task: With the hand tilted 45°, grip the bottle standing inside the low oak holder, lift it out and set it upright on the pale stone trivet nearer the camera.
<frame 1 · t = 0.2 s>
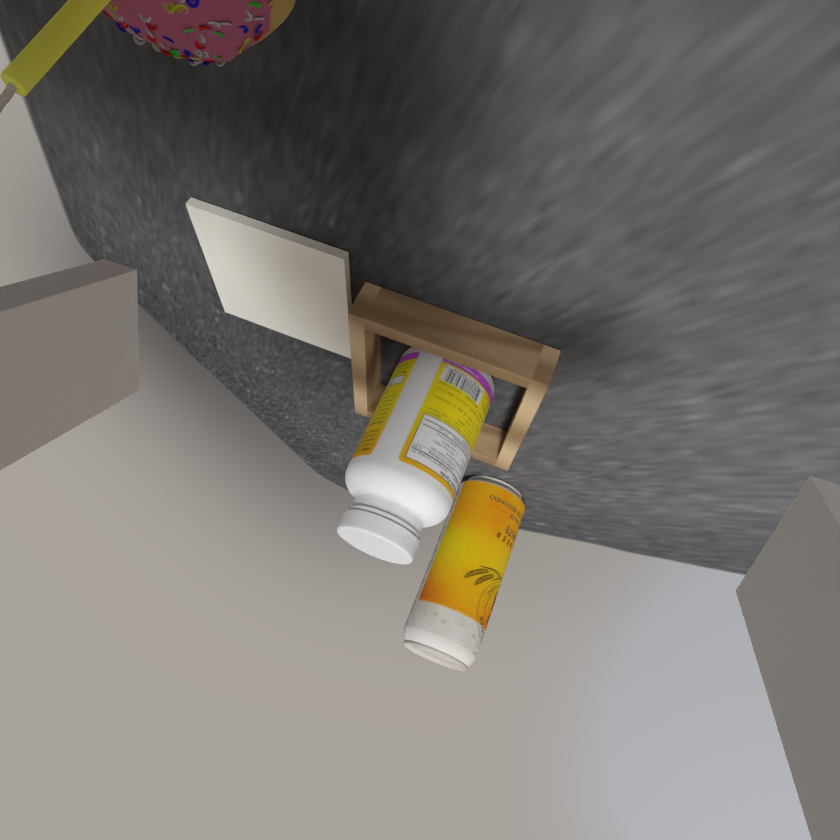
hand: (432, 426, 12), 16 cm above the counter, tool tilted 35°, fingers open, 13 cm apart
supplement bottle: (451, 368, 40), resting in oak holder
beer can: (495, 488, 53), on the counter
stone trivet: (281, 282, 38), on the counter
oak holder: (450, 371, 40), on the counter
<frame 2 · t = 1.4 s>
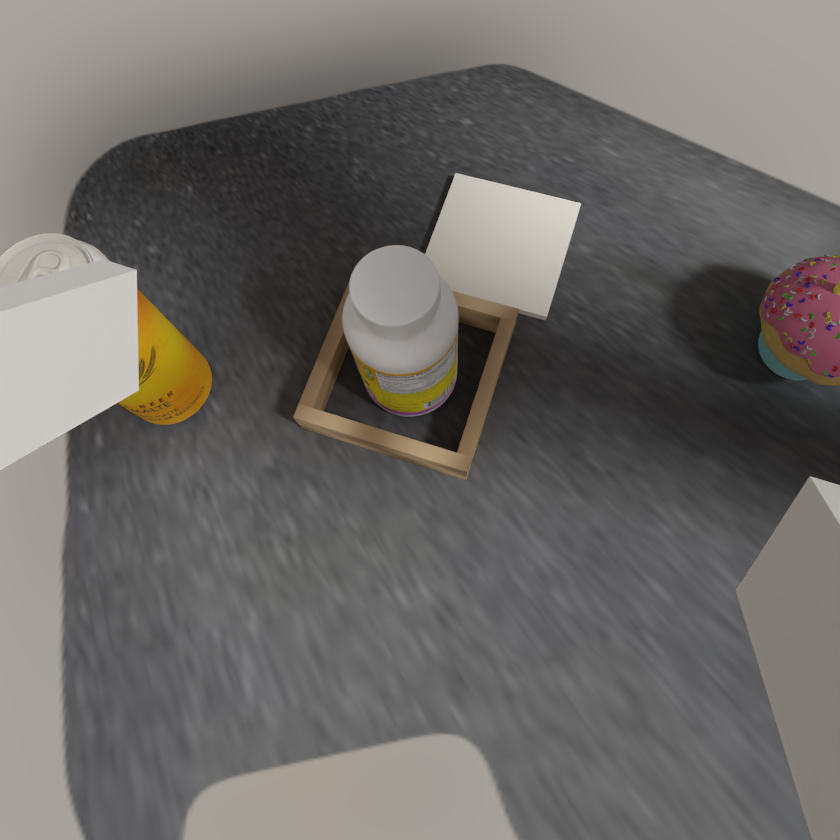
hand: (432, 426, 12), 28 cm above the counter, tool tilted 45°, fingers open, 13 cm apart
supplement bottle: (410, 376, 43), resting in oak holder
beer can: (176, 388, 43), on the counter
stone trivet: (498, 246, 45), on the counter
oak holder: (410, 375, 43), on the counter
cupcake: (792, 349, 42), on the counter
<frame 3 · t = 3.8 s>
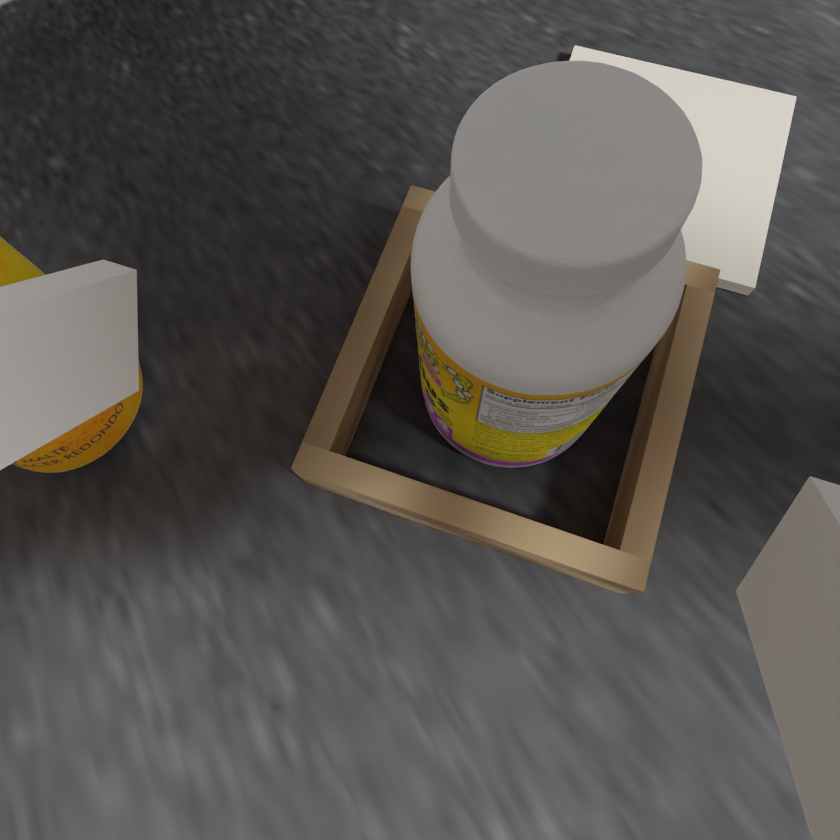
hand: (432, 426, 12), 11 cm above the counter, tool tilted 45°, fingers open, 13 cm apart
supplement bottle: (506, 391, 24), resting in oak holder
beer can: (80, 404, 24), on the counter
stone trivet: (653, 167, 26), on the counter
oak holder: (506, 389, 23), on the counter
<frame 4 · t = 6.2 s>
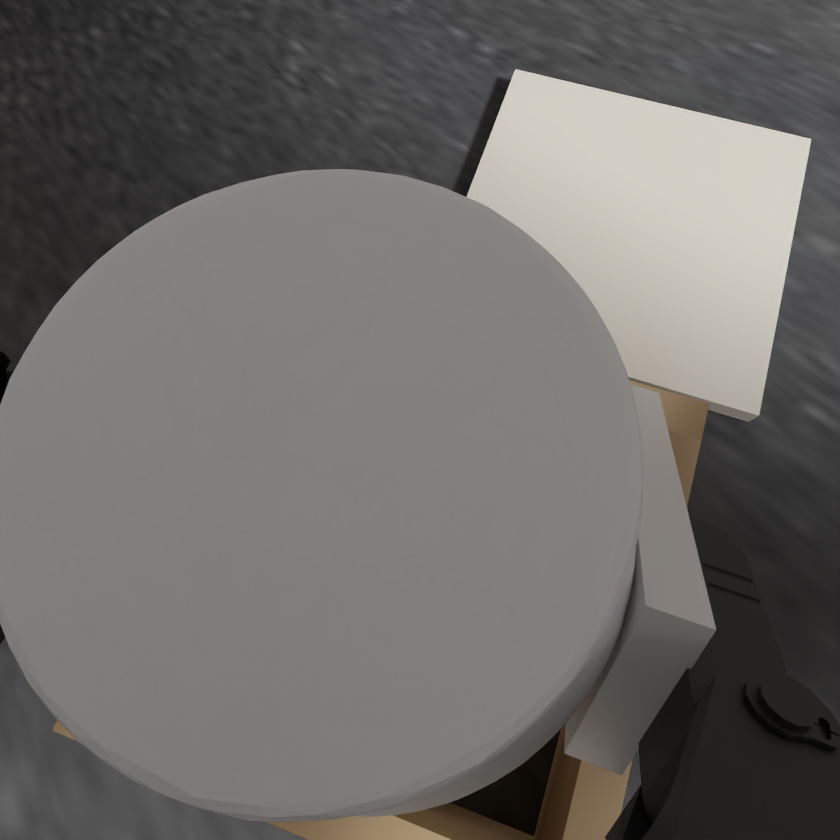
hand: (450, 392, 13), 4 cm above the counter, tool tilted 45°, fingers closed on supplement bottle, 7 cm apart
supplement bottle: (407, 565, 17), resting in oak holder, touching gripper
stone trivet: (618, 235, 19), on the counter
oak holder: (407, 564, 16), on the counter
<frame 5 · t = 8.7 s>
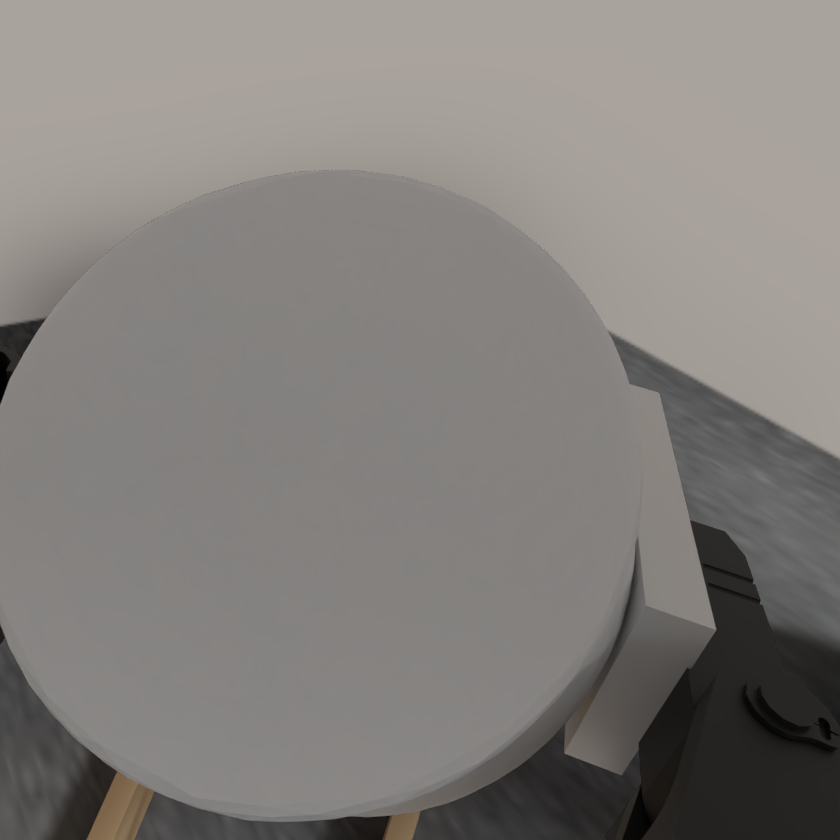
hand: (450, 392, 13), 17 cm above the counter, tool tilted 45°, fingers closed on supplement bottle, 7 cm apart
supplement bottle: (407, 565, 17), point 12 cm above the counter, touching gripper
oak holder: (264, 821, 26), on the counter
when the fingers open (7 cm above the counter, at t = 11.0 s): supplement bottle drops 2 cm, resting on stone trivet.
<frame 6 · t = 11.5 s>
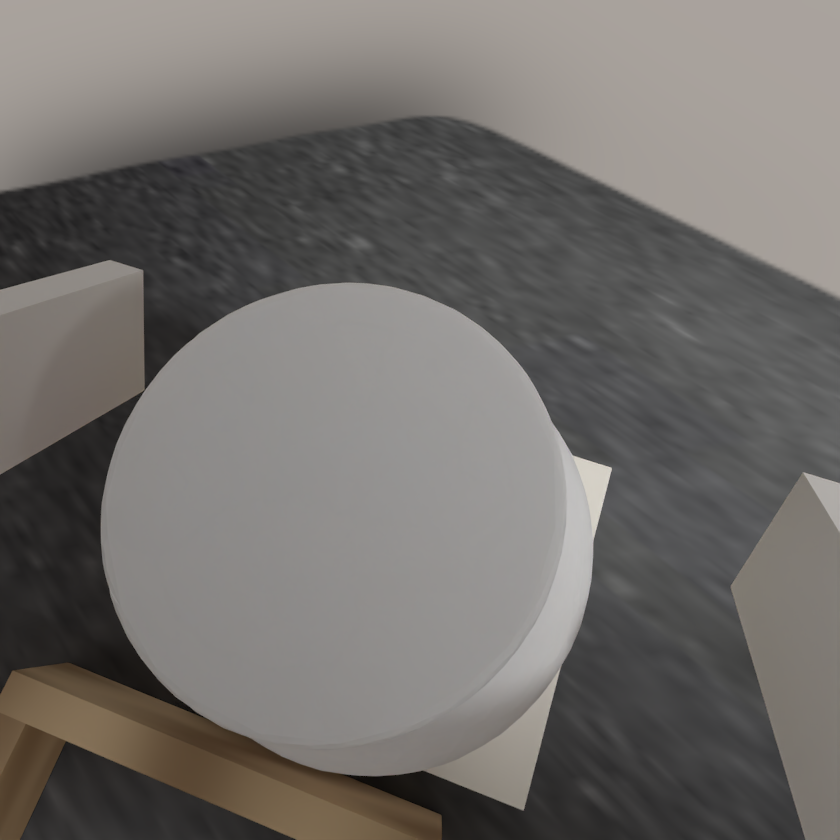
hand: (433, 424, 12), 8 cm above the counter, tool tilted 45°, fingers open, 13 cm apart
supplement bottle: (414, 575, 18), resting on stone trivet
stone trivet: (411, 570, 19), on the counter
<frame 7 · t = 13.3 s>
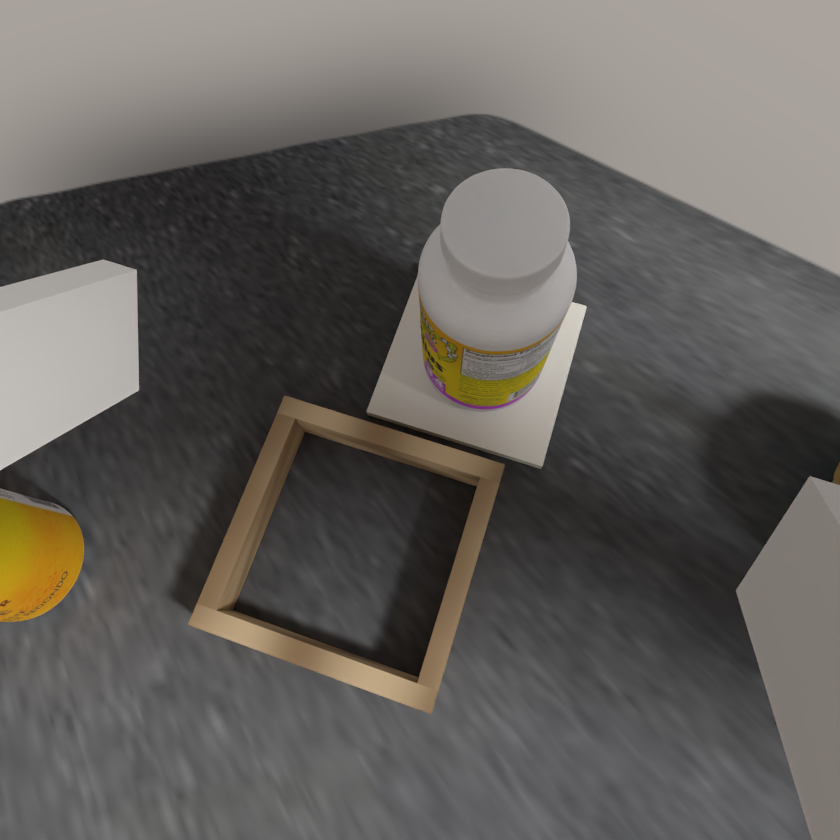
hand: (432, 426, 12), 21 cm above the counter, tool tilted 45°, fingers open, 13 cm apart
supplement bottle: (481, 362, 34), resting on stone trivet
beer can: (37, 560, 32), on the counter
stone trivet: (478, 361, 34), on the counter
oak holder: (358, 546, 31), on the counter
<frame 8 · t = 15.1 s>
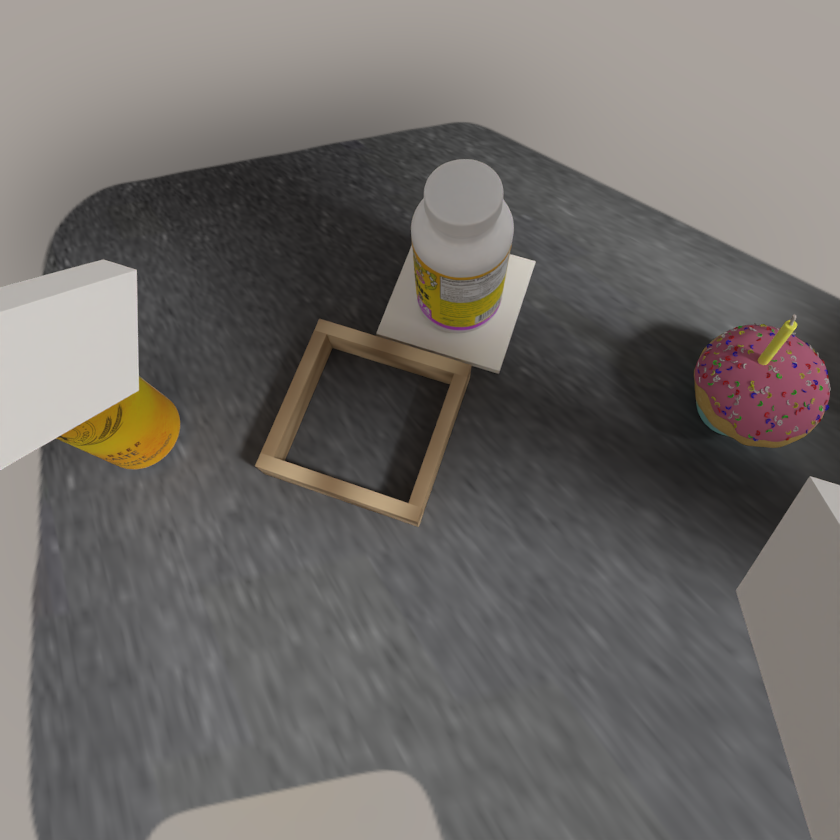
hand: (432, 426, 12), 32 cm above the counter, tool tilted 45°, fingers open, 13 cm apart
supplement bottle: (458, 300, 47), resting on stone trivet
beer can: (146, 433, 45), on the counter
stone trivet: (457, 300, 48), on the counter
oak holder: (369, 424, 45), on the counter
cupcake: (728, 406, 45), on the counter
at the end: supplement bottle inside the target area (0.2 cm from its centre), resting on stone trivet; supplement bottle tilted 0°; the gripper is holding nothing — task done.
